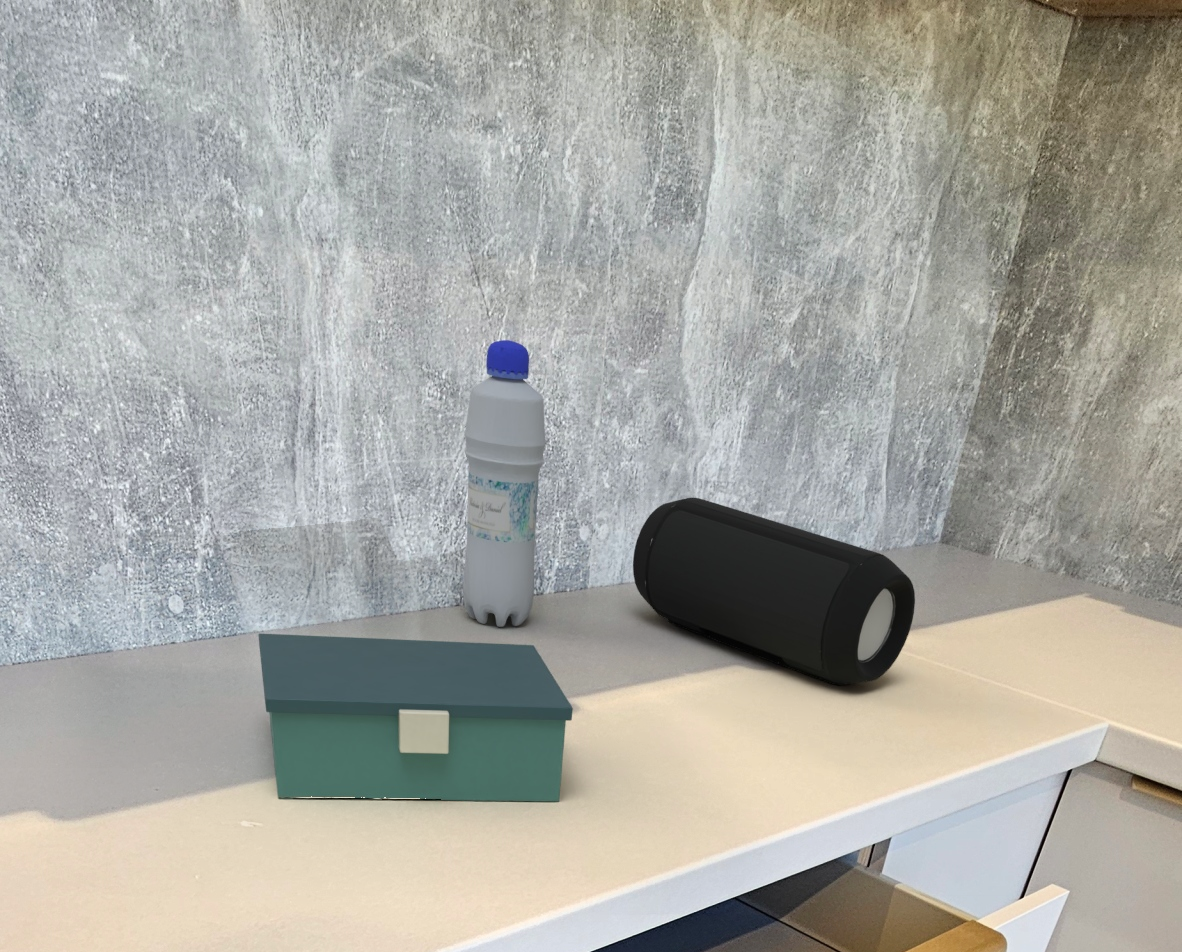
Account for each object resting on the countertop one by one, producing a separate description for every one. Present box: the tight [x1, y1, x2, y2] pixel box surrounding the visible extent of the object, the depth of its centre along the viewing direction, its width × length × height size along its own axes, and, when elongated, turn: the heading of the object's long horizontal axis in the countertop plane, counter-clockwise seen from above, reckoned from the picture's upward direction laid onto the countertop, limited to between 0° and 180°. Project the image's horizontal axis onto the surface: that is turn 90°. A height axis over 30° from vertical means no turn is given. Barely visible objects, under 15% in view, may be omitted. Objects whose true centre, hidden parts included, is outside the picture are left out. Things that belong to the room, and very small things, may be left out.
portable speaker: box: [632, 497, 916, 686], centre depth 105 cm, size 26×10×10 cm, turn 45°
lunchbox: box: [258, 633, 574, 802], centre depth 78 cm, size 19×14×6 cm
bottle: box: [462, 339, 547, 628], centre depth 100 cm, size 7×7×20 cm
